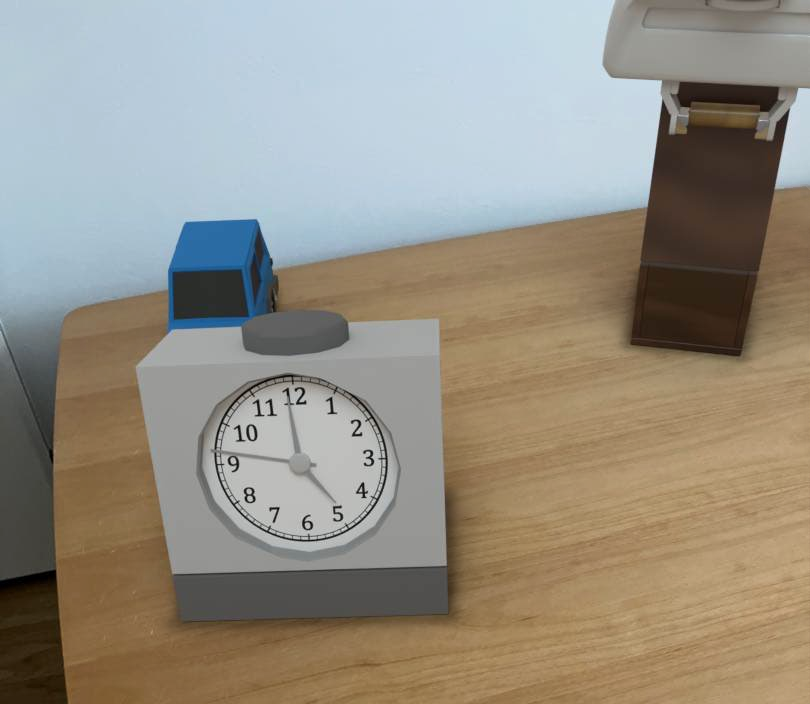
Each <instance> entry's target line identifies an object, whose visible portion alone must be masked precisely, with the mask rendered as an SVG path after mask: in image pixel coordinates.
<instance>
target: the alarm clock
mask: <svg viewBox="0 0 810 704" xmlns="http://www.w3.org/2000/svg"><path fill="white" fill-rule="evenodd" d="M441 368H442V367H441V335H440V318H420V319H401V320H400V319H399V320H397V319H395V320H372V321H369V320H368V321H349V322H348V321H347V320H346V318H345V317H344V316H343V315H342V314H341V313H340V312H335V311H330V310H326V309H325V310H324V309H294V310H284V311H276V312H274V313H270V314H266V315H261V316H257V317H254V318H252V319H250V320H248V321H247V322H245V323H243V325H242V326H241V327H223V328H199V329H174V330H171V331H170V332H169V333H168V334H167V333H166V335H165V336H164V337H163V338H162V339H161V340H160V341H159V342H158V344H156V345H155V346H154V347H153V348H152V350H150V351H149V353H147V355H146V356H144V357H143V359H142V360H141V361H139V363H137V365H136V366H135V373H136V379H137V384H138V389H139V396H140V402H141V406H142V407H141V408H142V413H143V416H144V417H143V418H144V425H145V430H146V434H147V441H148V446H149V452H150V457H151V462H152V468H153V474H154V479H155V486H156V491H157V497H158V503H159V508H160V513H161V519H162V525H163V530H164V531H163V532H164V537H165V542H166V547H167V552H168V558H169V563H170V570H171V574H172V581H173V587H174V592H175V598H176V602H177V608H178V614H179V619H180V622H182V623H183V622H216V621H218V622H219V621H246V620H247V621H252V620H253V621H254V620H286V619H287V620H288V619H321V618H356V617H357V618H359V617H360V618H361V617H391V616H392V617H393V616H424V615H425V616H431V615H449V589H448V588H449V587H448V556H447V555H448V553H447V521H446V520H447V518H446V488H445V487H446V485H445V459H444V458H445V457H444V455H445V453H444V427H443V426H444V424H443V397H442V394H443V393H442V369H441Z"/></svg>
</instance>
